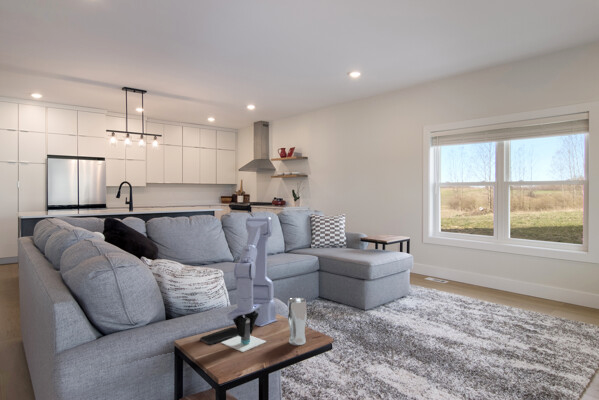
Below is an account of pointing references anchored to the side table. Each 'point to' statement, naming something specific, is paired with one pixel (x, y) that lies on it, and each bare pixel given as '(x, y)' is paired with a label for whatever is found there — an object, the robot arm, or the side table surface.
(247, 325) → the grey cylinder
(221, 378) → the side table surface
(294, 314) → the beer glass
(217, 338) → the phone
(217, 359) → the side table surface
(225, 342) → the paper
